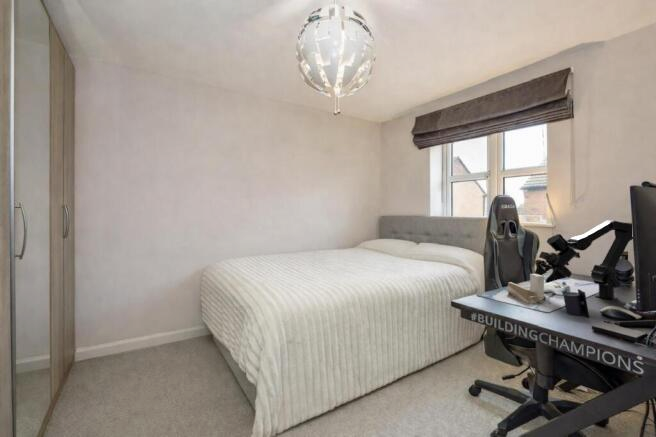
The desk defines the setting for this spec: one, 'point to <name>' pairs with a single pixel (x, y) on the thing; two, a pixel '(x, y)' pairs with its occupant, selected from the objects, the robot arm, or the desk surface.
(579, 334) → the desk surface
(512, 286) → the rack
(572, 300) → the speaker
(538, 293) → the cream rectangular block
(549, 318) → the desk surface
